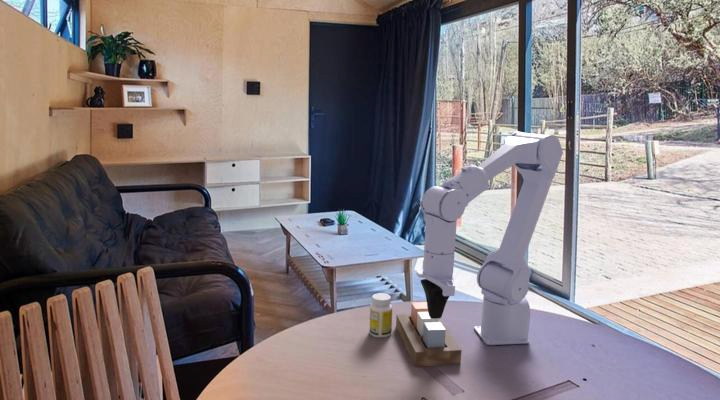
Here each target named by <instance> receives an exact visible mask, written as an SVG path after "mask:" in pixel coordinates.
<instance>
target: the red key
mask: <svg viewBox="0 0 720 400" xmlns="http://www.w3.org/2000/svg"><path fill="white" fill-rule="evenodd" d="M410 308H411V309H410V314H411V320H412V321H413V323H414V325H417V312H428V307H427V301H420V302H419V301H414V302H413V301H412V302H411V307H410Z"/></svg>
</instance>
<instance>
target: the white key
mask: <svg viewBox="0 0 720 400" xmlns="http://www.w3.org/2000/svg"><path fill="white" fill-rule="evenodd" d="M425 322H438V318H436V319H431V318H430V316H429V313H428V312H417V330H418V332H419V334H420V335H421V336H423V330H424V323H425Z"/></svg>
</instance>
